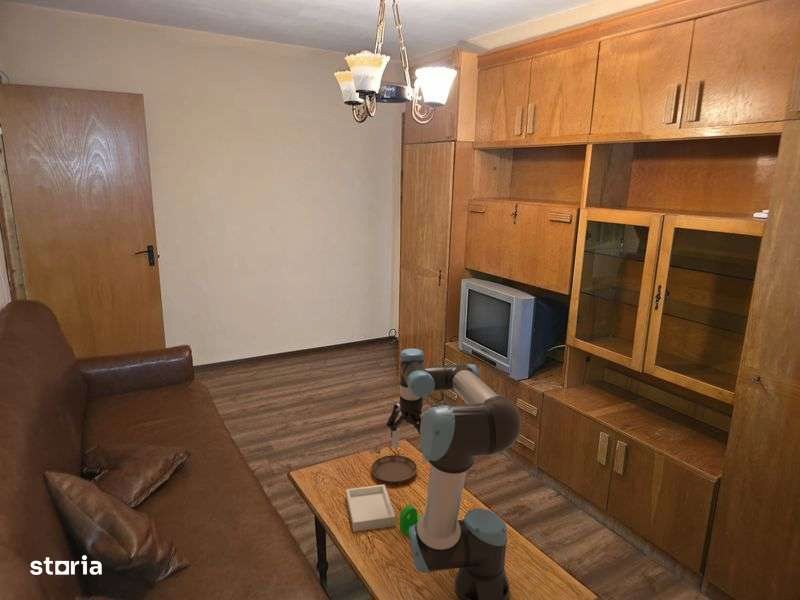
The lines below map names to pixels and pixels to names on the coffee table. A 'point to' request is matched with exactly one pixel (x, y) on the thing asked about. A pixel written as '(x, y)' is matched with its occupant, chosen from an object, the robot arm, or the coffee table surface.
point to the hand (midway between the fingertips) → (410, 454)
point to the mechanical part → (408, 519)
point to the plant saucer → (394, 469)
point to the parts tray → (370, 508)
